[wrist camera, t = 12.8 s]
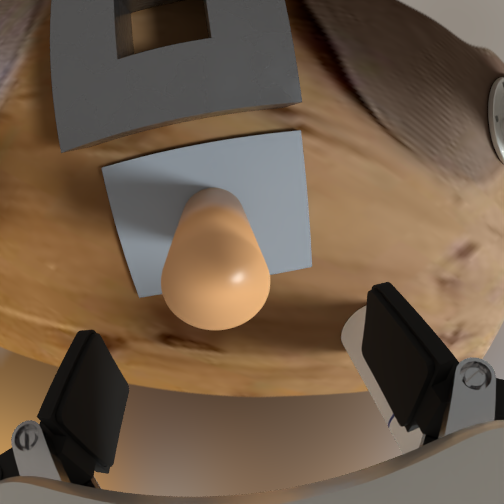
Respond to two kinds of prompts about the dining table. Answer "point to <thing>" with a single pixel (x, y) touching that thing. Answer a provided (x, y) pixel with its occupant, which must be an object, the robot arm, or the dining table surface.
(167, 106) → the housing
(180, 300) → the orange rounded cylinder
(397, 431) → the cylindrical container
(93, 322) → the dining table surface
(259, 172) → the mat
